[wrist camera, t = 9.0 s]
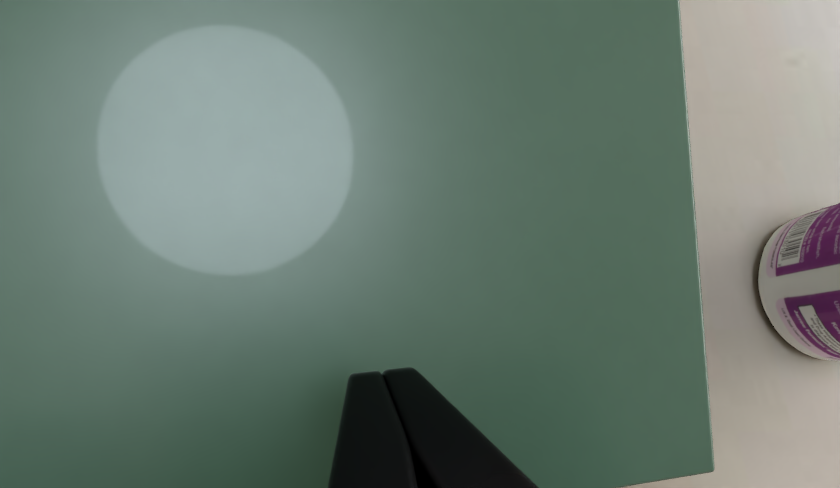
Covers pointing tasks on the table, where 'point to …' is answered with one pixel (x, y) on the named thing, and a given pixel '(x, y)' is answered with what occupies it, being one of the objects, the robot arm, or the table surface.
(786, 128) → the table surface
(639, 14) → the bin lid
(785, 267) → the pill bottle
